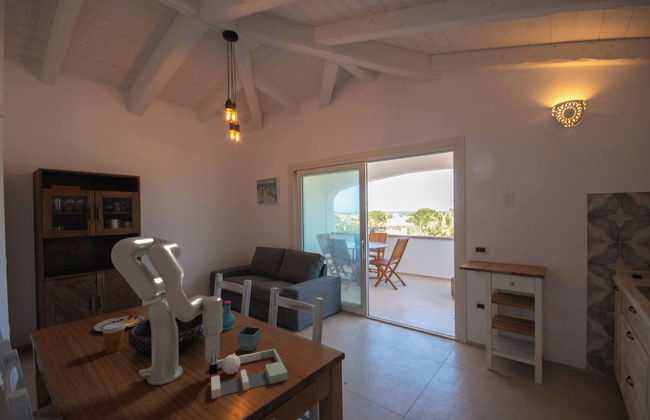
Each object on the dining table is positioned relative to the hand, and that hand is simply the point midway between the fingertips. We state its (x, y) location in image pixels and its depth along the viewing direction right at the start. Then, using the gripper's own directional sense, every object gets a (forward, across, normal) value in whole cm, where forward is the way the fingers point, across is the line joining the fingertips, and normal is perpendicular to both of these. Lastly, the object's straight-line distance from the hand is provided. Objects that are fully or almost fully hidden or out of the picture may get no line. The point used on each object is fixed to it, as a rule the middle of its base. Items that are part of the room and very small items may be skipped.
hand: (213, 373), depth 115 cm
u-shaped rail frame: (+1, +4, +13) cm, 14 cm away
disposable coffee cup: (+1, -44, -44) cm, 63 cm away
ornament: (+2, 0, +7) cm, 7 cm away
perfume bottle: (+2, -50, +9) cm, 50 cm away
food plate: (+2, -79, -49) cm, 93 cm away
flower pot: (+2, -18, +17) cm, 25 cm away
